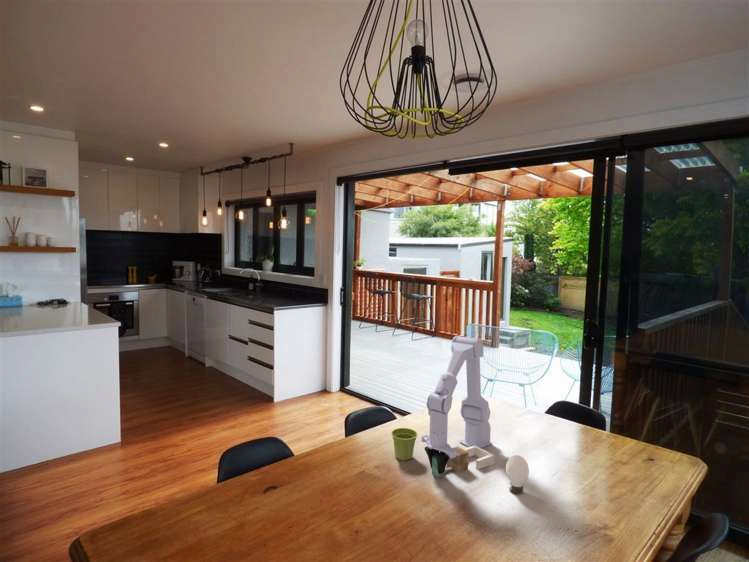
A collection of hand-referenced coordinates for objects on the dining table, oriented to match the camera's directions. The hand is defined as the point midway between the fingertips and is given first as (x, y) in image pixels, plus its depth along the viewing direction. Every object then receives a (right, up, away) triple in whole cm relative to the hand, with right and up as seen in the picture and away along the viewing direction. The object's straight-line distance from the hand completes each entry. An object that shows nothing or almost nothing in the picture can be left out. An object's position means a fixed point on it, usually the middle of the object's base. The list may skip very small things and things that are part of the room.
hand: (437, 470), depth 144 cm
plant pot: (-10, -1, +13) cm, 16 cm away
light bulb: (+23, -3, -9) cm, 25 cm away
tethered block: (+4, -1, +3) cm, 5 cm away
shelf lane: (+15, -1, +10) cm, 18 cm away
